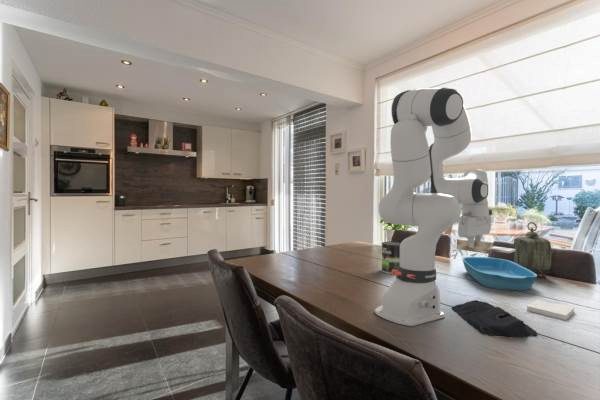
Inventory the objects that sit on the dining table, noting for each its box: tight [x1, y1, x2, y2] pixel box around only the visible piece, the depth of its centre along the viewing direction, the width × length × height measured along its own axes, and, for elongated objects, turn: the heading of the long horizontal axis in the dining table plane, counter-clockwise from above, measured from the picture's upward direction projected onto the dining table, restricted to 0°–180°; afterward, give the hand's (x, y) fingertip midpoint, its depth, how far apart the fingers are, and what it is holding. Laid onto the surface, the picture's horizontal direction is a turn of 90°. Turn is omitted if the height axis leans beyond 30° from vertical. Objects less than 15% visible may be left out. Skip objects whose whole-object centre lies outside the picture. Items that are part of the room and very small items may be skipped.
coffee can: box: [381, 241, 401, 275], centre depth 152 cm, size 10×10×14 cm
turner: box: [456, 238, 516, 255], centre depth 117 cm, size 19×6×4 cm, turn 37°
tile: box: [526, 299, 575, 321], centre depth 101 cm, size 2×10×10 cm
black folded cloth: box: [451, 299, 538, 339], centre depth 94 cm, size 15×22×5 cm
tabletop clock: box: [512, 221, 552, 279], centre depth 145 cm, size 14×9×25 cm, turn 171°
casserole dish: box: [462, 256, 538, 291], centre depth 137 cm, size 37×22×7 cm, turn 167°
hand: (474, 246), depth 120 cm, fingers closed on turner, 3 cm apart
